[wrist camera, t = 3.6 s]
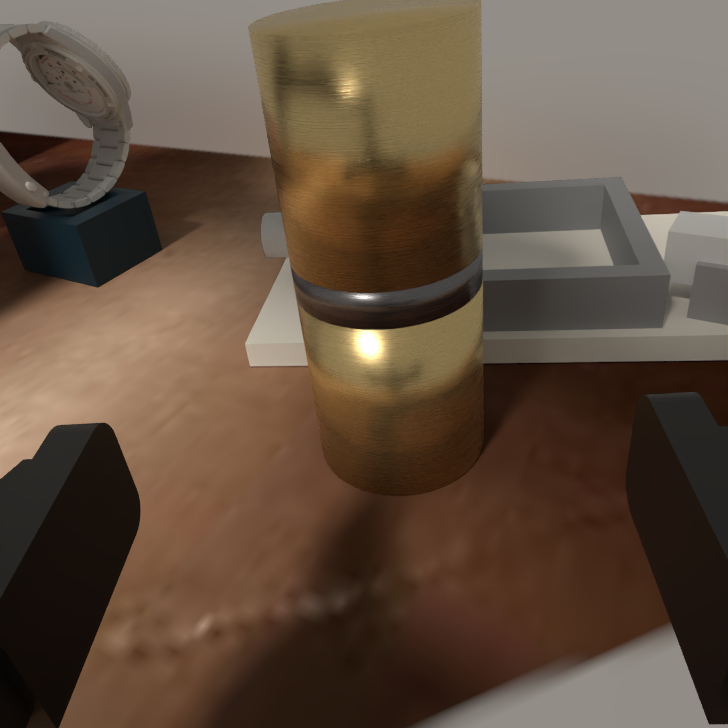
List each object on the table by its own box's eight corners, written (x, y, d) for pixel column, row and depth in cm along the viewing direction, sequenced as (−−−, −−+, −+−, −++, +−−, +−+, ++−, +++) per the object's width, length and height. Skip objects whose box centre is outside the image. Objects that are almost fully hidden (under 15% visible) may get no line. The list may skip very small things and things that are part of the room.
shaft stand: (250, 366, 26) (227, 272, 24) (302, 249, 34) (289, 171, 32) (840, 359, 23) (877, 249, 21) (741, 232, 31) (760, 144, 29)
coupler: (309, 494, 20) (218, 44, 13) (336, 390, 24) (277, 6, 17) (484, 496, 19) (482, 20, 13) (482, 389, 23) (479, -14, 17)
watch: (188, 234, 37) (128, 5, 31) (67, 304, 32) (-34, 43, 26) (115, 222, 40) (47, 9, 34) (-7, 284, 34) (-115, 44, 28)
